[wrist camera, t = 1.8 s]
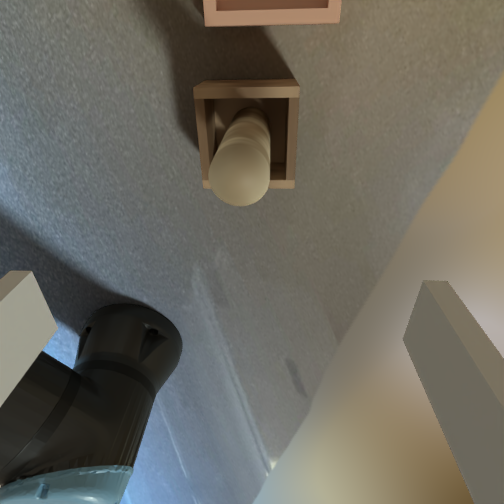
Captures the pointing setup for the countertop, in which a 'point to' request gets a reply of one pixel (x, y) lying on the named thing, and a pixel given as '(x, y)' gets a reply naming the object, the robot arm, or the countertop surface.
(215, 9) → the tray
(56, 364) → the robot arm
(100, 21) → the countertop surface
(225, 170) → the dowel
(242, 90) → the small wooden box
